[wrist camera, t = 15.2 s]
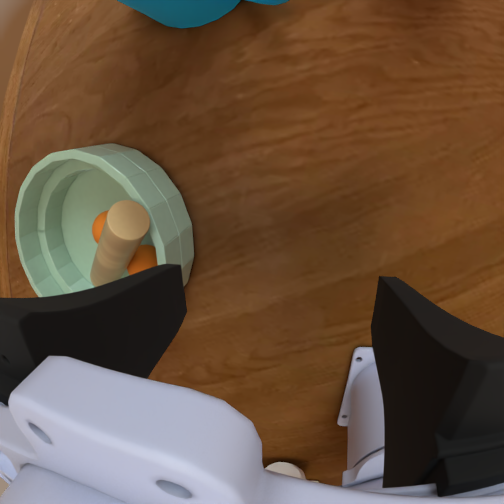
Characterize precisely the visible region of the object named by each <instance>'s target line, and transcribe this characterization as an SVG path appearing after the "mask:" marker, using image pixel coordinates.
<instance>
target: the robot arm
mask: <svg viewBox="0 0 504 504" xmlns="http://www.w3.org/2000/svg"><path fill="white" fill-rule="evenodd" d="M186 313H187V309H186V301H185V293H184V286H183V277H182V269H181V265H179V264H162V265H158V266H154V267H151V268H148V269H146V270H143V271H140V272H137V273H135V274H132V275H129V276H127V277H124V278H121V279H118V280H115V281H112V282H109V283H106V284H103V285H100V286H97V287H94V288H90V289H86V290H82V291H78V292H73V293H67V294H61V295H55V296H48V297H36V298H0V477H1V478H2V479H3V480H5V481H6V482H7V483H8V484H9V486H8V488H7V489H6V490H5V492H4V493H3V494H2V496H1V497H0V504H504V338H503V337H500V336H497V335H494V334H491V333H489V332H486V331H484V330H481V329H479V328H477V327H474V326H472V325H470V324H468V323H466V322H464V321H462V320H460V319H458V318H456V317H454V316H453V315H451V314H449V313H448V312H446V311H444V310H443V309H441V308H440V307H438V306H437V305H435V304H434V303H432V302H431V301H429V300H428V299H426V298H425V297H424V296H422V295H421V294H420V293H418V292H417V291H416V290H414V289H413V288H412V287H410V286H409V285H408V284H406V283H405V282H403V281H402V280H400V279H399V278H397V277H383V276H379V281H378V288H377V294H376V300H375V306H374V312H373V318H372V323H371V334H372V347H358V348H356V349H355V350H354V352H353V357H352V361H351V366H350V371H349V375H348V380H347V384H346V388H345V392H344V396H343V400H342V404H341V408H340V412H339V416H338V420H337V424H338V425H340V426H348V455H347V470H346V471H344V472H343V476H342V485H341V486H333V485H328V484H323V483H318V482H314V481H309V480H305V479H301V478H297V477H293V476H289V475H285V474H281V473H278V472H274V471H271V470H267V469H264V467H263V464H262V442H261V440H260V438H259V436H258V434H257V431H256V429H255V427H254V425H253V423H252V422H251V421H250V420H249V419H248V418H247V417H245V416H244V415H243V414H241V413H240V412H238V411H237V410H236V409H234V408H233V407H232V406H230V405H229V404H228V403H227V402H225V401H224V400H222V399H219V398H216V397H213V396H211V395H208V394H205V393H202V392H199V391H197V390H194V389H191V388H187V387H182V386H177V385H172V384H167V383H162V382H158V381H154V380H149V379H147V378H148V376H149V375H150V373H151V371H152V370H153V368H154V367H155V365H156V364H157V362H158V361H159V359H160V358H161V356H162V355H163V353H164V352H165V351H166V349H167V348H168V346H169V345H170V343H171V342H172V340H173V338H174V337H175V335H176V334H177V332H178V330H179V328H180V326H181V324H182V322H183V320H184V317H185V315H186ZM358 357H361V358H360V359H356V358H358Z"/></svg>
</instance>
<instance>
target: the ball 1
mask: <svg viewBox="0 0 504 504" xmlns="http://www.w3.org/2000/svg"><path fill="white" fill-rule="evenodd" d="M108 211H109V210H107V211H104V212H102V213H100V214H99V215H98V216H97V217H96V218H95V220H94V222H93V225H92V234H93V237H94V240H95V241H96V242H97V244H98V243H99V239H100V236H101V233H102V229H103V226H104V223H105V220H106V217H107V214H108Z"/></svg>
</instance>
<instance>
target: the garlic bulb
mask: <svg viewBox="0 0 504 504" xmlns="http://www.w3.org/2000/svg"><path fill="white" fill-rule="evenodd" d="M265 469H267V470H271V471H274V472H278V473H281V474H285V475H289V476H293V477H297V478H301V479H305V480H306V477H305V474H304V472H303V471H302V470H301V469H300V468H298V467H297V466H296V465H293V464H290V463H286V462H276V463H273V464H271V465H269V466H267V467H266V468H265Z"/></svg>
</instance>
